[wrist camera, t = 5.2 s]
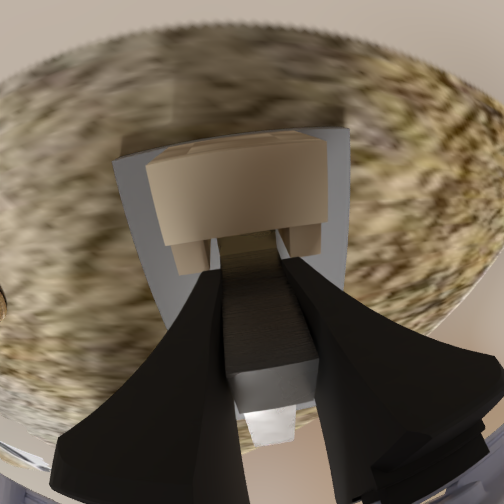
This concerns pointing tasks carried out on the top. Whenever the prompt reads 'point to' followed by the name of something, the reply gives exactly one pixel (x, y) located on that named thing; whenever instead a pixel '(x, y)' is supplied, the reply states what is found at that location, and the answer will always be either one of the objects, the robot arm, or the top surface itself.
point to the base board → (161, 257)
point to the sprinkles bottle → (2, 308)
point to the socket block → (240, 193)
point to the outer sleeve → (272, 425)
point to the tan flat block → (263, 327)
